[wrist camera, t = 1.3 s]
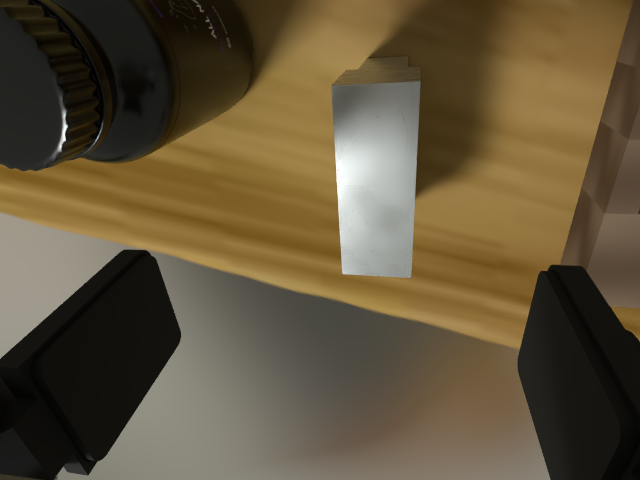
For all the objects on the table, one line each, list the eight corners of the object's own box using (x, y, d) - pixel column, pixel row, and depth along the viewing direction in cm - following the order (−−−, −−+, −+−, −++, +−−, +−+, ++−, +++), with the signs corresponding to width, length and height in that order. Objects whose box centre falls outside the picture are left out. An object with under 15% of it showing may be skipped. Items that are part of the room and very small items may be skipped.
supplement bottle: (267, -8, 19) (100, -14, 9) (247, 129, 23) (114, 234, 13) (133, -49, 19) (-176, -99, 9) (135, 93, 23) (-83, 168, 13)
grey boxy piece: (356, 59, 20) (331, 85, 14) (419, 55, 19) (420, 81, 13) (360, 205, 24) (342, 273, 18) (412, 206, 23) (411, 277, 17)
